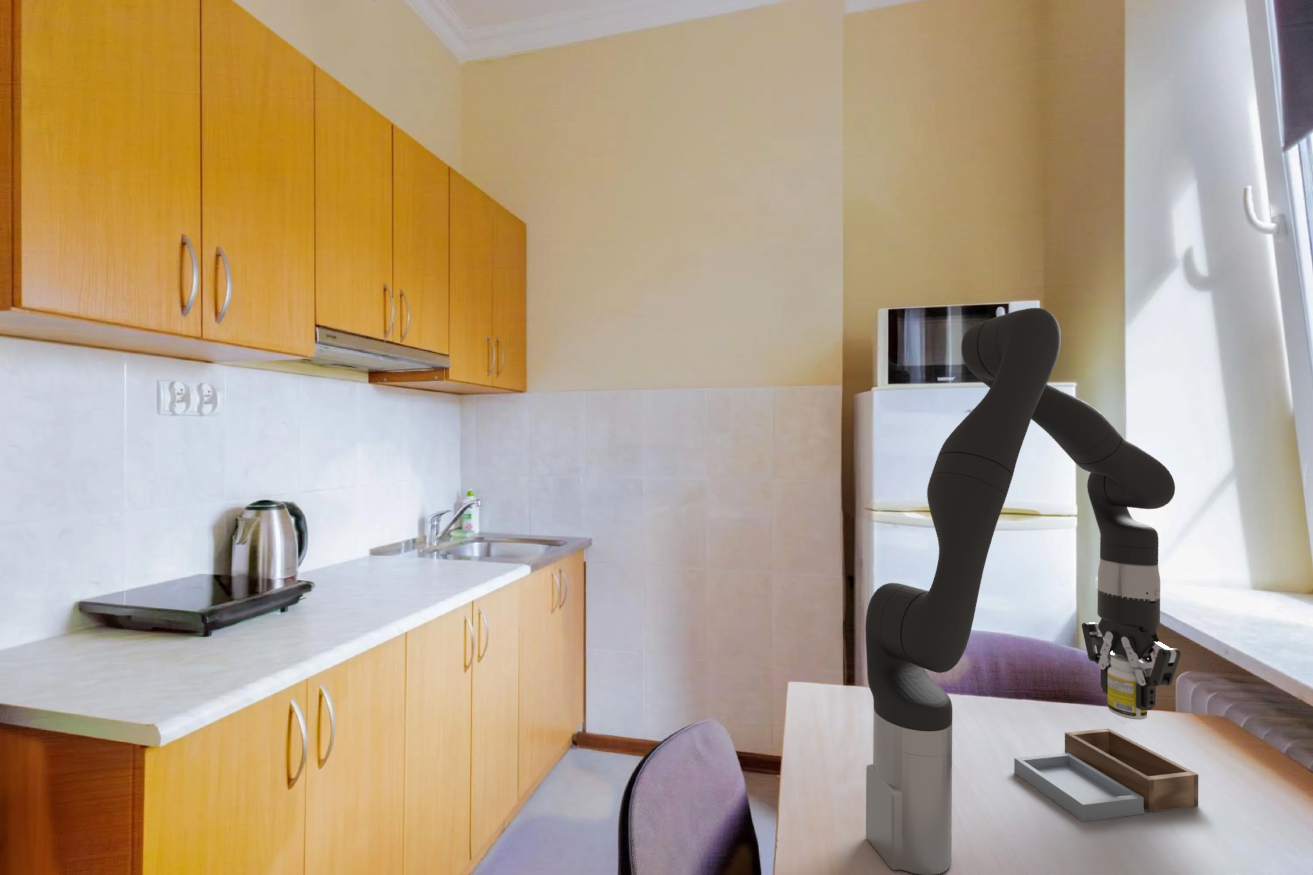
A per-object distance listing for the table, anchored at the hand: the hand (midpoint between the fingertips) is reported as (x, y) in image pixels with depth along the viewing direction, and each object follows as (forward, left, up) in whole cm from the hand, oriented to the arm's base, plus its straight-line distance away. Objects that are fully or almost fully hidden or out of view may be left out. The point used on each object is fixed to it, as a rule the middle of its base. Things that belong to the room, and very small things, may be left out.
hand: (1127, 700), depth 89 cm
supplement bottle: (0, 0, -2) cm, 2 cm away
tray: (-10, -1, -12) cm, 16 cm away
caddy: (0, 0, -12) cm, 12 cm away
